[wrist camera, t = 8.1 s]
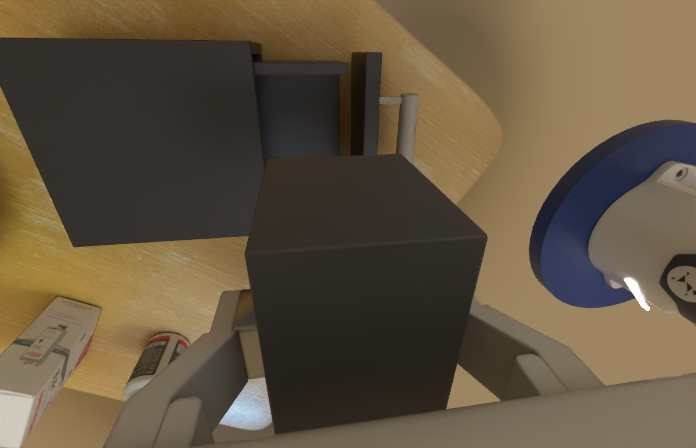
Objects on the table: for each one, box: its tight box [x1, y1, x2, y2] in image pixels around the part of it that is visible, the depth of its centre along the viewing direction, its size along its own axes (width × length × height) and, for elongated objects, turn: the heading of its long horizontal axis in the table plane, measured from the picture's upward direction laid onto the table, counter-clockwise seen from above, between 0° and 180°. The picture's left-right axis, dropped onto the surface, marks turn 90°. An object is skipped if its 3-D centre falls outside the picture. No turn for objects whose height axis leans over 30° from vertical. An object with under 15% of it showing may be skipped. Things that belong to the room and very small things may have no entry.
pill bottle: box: [123, 333, 190, 402], centre depth 39 cm, size 5×5×10 cm
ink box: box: [0, 297, 101, 448], centre depth 34 cm, size 9×5×12 cm, turn 149°
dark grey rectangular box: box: [245, 154, 487, 434], centre depth 9 cm, size 4×8×5 cm, turn 179°
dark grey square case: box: [0, 38, 265, 247], centre depth 27 cm, size 16×15×9 cm
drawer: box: [253, 52, 419, 166], centre depth 29 cm, size 19×13×7 cm
